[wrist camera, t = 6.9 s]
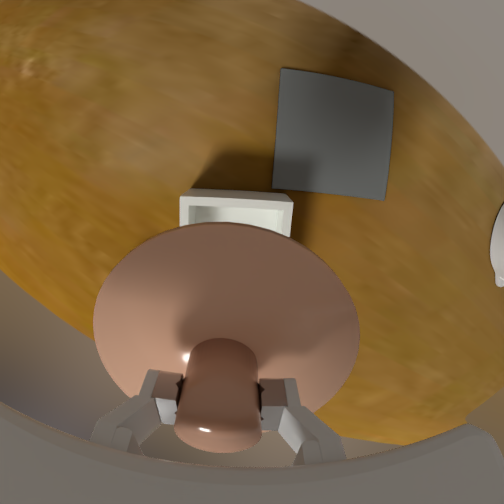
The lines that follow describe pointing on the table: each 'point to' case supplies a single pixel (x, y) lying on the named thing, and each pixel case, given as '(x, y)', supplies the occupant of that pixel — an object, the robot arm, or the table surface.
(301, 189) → the mat
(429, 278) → the table surface
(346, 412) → the table surface
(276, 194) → the dish
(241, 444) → the lid
